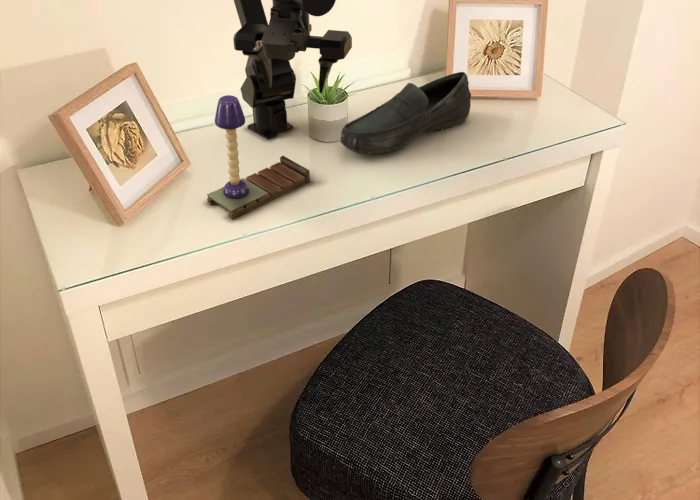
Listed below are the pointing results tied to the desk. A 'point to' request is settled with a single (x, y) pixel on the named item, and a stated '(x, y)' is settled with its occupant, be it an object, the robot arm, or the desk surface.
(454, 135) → the desk surface
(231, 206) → the toy bed
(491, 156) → the desk surface
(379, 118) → the loafer
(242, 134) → the desk surface
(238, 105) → the toy lamp
